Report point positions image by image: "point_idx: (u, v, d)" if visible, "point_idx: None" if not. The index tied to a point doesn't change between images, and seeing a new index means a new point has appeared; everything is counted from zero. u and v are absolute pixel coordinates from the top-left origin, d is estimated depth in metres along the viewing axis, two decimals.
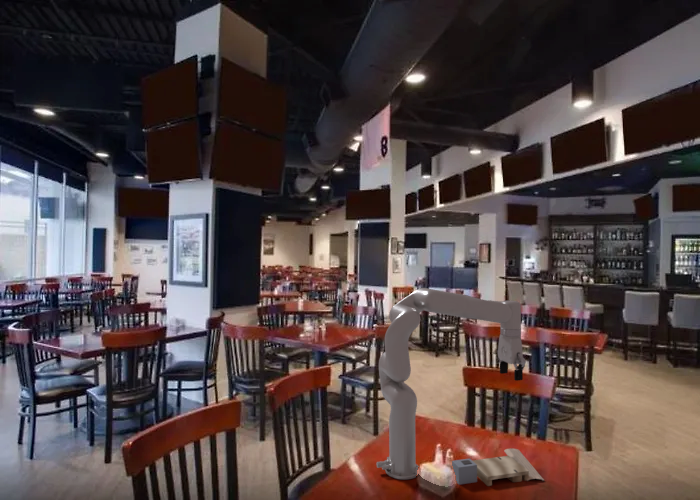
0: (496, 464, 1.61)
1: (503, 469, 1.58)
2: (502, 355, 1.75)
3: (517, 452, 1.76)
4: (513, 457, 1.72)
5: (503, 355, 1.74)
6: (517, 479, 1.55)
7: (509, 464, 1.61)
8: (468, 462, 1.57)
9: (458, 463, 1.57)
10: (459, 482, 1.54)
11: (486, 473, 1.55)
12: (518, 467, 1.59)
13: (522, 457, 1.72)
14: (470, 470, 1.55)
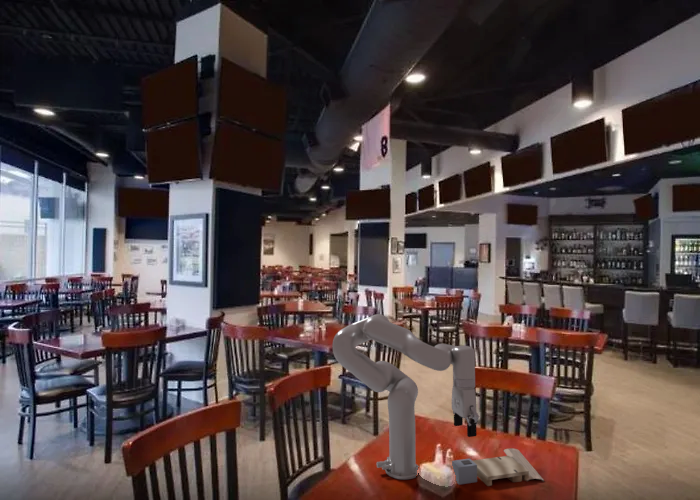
0: (496, 464, 1.61)
1: (503, 469, 1.58)
2: (455, 407, 1.58)
3: (517, 452, 1.76)
4: (513, 457, 1.72)
5: (456, 407, 1.57)
6: (517, 479, 1.55)
7: (509, 464, 1.61)
8: (468, 462, 1.57)
9: (458, 463, 1.57)
10: (459, 482, 1.54)
11: (486, 473, 1.55)
12: (518, 467, 1.59)
13: (522, 457, 1.72)
14: (470, 470, 1.55)
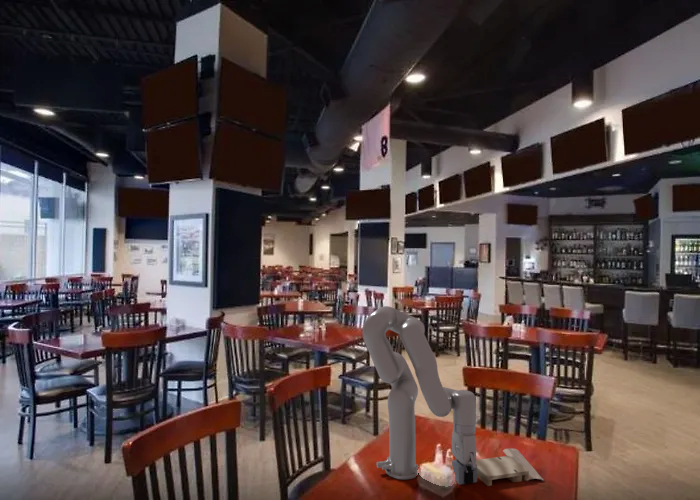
0: (496, 464, 1.61)
1: (503, 469, 1.58)
2: (455, 452, 1.58)
3: (516, 452, 1.76)
4: (512, 457, 1.72)
5: (456, 452, 1.57)
6: (517, 479, 1.55)
7: (509, 464, 1.61)
8: None
9: (458, 462, 1.57)
10: (459, 482, 1.54)
11: (486, 473, 1.55)
12: (518, 467, 1.59)
13: (521, 457, 1.72)
14: None
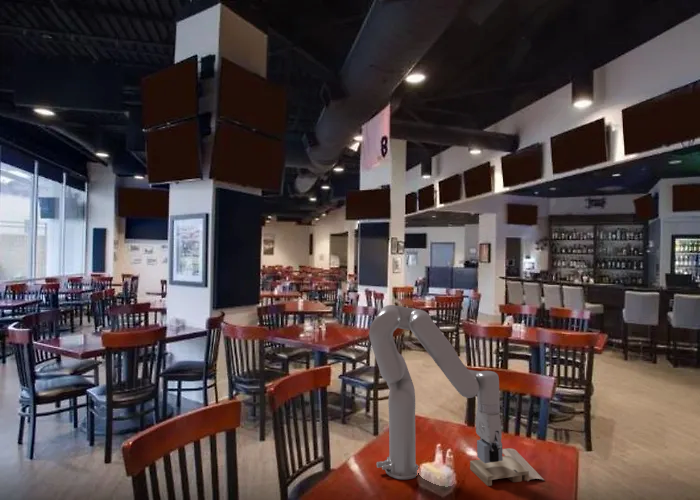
0: (496, 464, 1.61)
1: (503, 469, 1.58)
2: (480, 431, 1.60)
3: (514, 452, 1.76)
4: (511, 457, 1.72)
5: (481, 432, 1.59)
6: (517, 479, 1.55)
7: (509, 464, 1.61)
8: None
9: (484, 442, 1.59)
10: (485, 460, 1.56)
11: (486, 473, 1.55)
12: (518, 467, 1.59)
13: (519, 457, 1.72)
14: None
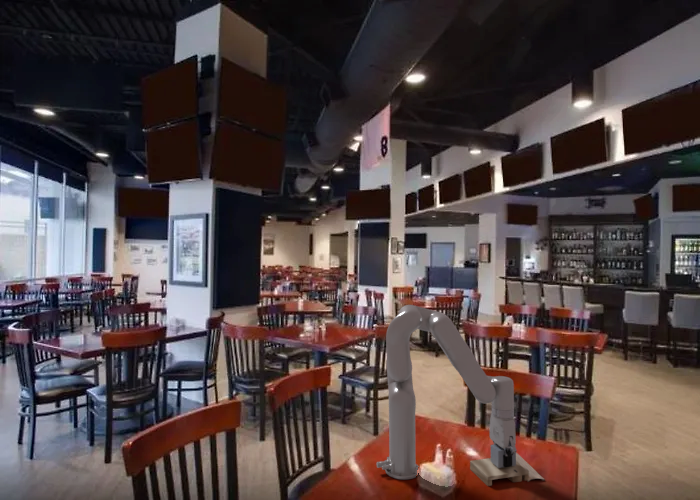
0: None
1: (503, 469, 1.58)
2: (494, 436, 1.61)
3: None
4: None
5: (495, 437, 1.61)
6: (517, 479, 1.55)
7: None
8: None
9: (497, 447, 1.61)
10: (499, 465, 1.58)
11: (486, 473, 1.55)
12: (518, 467, 1.59)
13: (518, 457, 1.72)
14: None
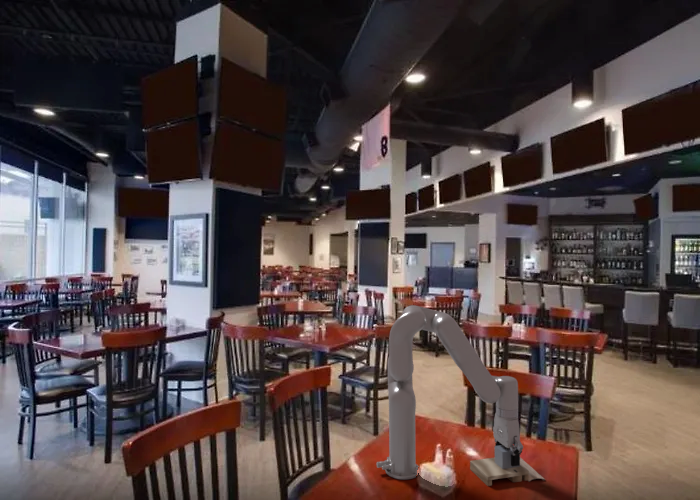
0: (496, 464, 1.61)
1: (503, 469, 1.58)
2: (498, 436, 1.62)
3: None
4: None
5: (499, 436, 1.61)
6: (517, 479, 1.55)
7: None
8: None
9: (501, 448, 1.61)
10: (503, 466, 1.58)
11: (486, 473, 1.55)
12: (518, 467, 1.59)
13: None
14: None
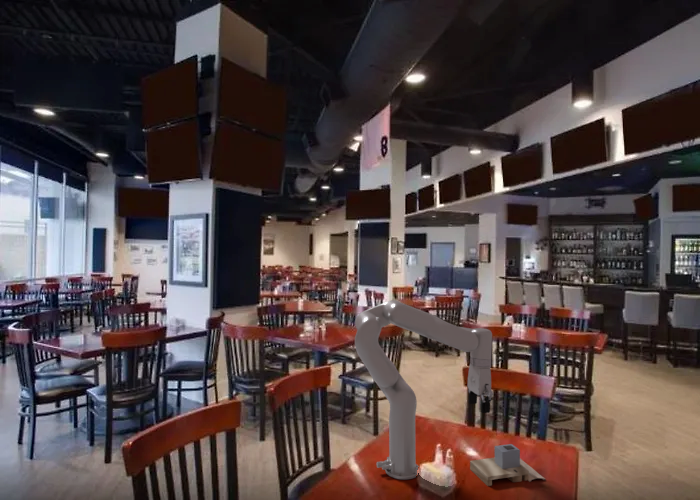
0: (496, 464, 1.61)
1: (503, 469, 1.58)
2: (471, 385, 1.68)
3: None
4: None
5: (472, 385, 1.67)
6: (517, 479, 1.55)
7: None
8: (511, 447, 1.61)
9: (501, 448, 1.61)
10: (503, 466, 1.58)
11: (486, 473, 1.55)
12: (518, 467, 1.59)
13: None
14: (513, 455, 1.59)
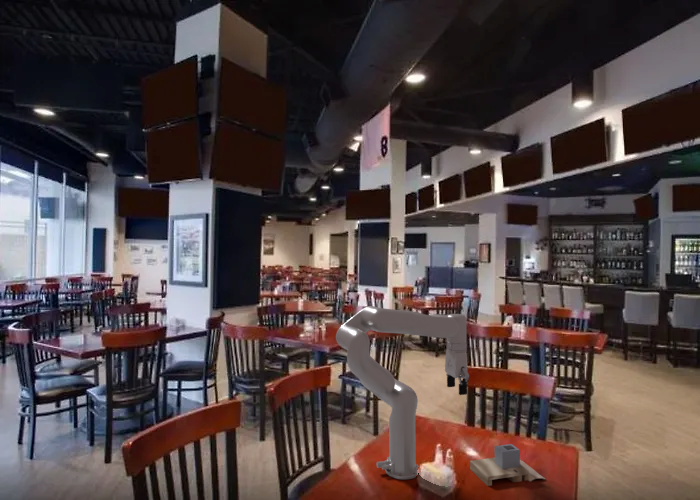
0: (496, 464, 1.61)
1: (503, 469, 1.58)
2: (448, 369, 1.73)
3: None
4: None
5: (449, 369, 1.73)
6: (517, 479, 1.55)
7: None
8: (511, 447, 1.61)
9: (501, 448, 1.61)
10: (503, 466, 1.58)
11: (486, 473, 1.55)
12: (518, 467, 1.59)
13: None
14: (513, 455, 1.59)
